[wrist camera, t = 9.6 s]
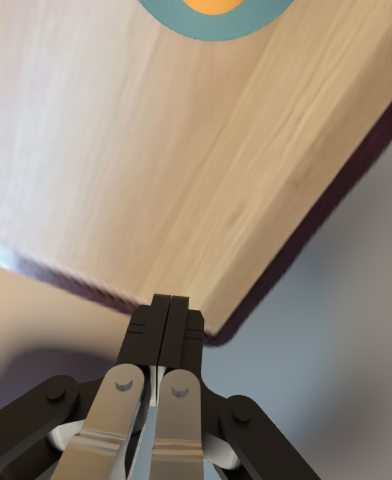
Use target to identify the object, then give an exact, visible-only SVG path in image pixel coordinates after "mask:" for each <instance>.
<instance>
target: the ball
mask: <svg viewBox="0 0 392 480" xmlns="http://www.w3.org/2000/svg"><path fill="white" fill-rule="evenodd" d="M183 1H184V2H185V3H186V4H187V5H188V6H189V7H191V8H192V9H194V10H196V11H198V12H200V13H203V14H208V15H218V14H223V13H226V12H228V11H230V10H232V9H234V8H235V7H237V6H238V5H239V4H240V3H241V2H242V1H243V0H183Z"/></svg>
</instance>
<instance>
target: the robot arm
mask: <svg viewBox="0 0 392 480" xmlns="http://www.w3.org/2000/svg"><path fill="white" fill-rule="evenodd" d="M188 307H189V297H183V296H174V295H173V296H172V299H171V295H163V294H154V296H153V299H152V303H151V306H149V305H140V306H139V307H138V308H137V309H136V310H135V311H134V312H133V313H132V316H131V319H130V322H129V326H128V328H127V332H126V335H125V338H124V340H123V343H122V346H121V349H120V352H119V355H118V358H117V361H116V364H115V366H114V367H113V368H112V369H110V370H109V371H108V372H107V374H106V375H105V376H104V377H102V378H100V379H97V380H94V381H89V382H84V383H79V384H77V382H76V380H75V379H74V378H72V377H70V376H67V375H57V376H53V377H51V378H49V379H47V380H45V381H44V382H42V383H41V384H39V385H37V386H36V387H34V388H33V389H32V390H30V391H28V392H27V393H25V394H24V395H22V396H20V397H19V398H18V399H16V400H14V401H13V402H11V403H10V404H8V405H7V406H5V407H4V408H2V409H0V480H47V479H48V478H49V477H50V476H51V475H52V478H51V480H130V478H131V475H132V472H133V468H134V464H135V461H136V457H137V454H138V450H139V446H140V443H141V439H142V436H143V432H144V429H145V422H146V419H147V414H148V409H149V406H153V407H155V406H156V401H157V397H158V409H157V419H156V428H155V438H154V446H153V450H152V457H151V467H150V477H149V480H204V469H203V468H204V467H203V458H204V459H206V460H208V461H210V462H212V463H213V465H214V468H215V470H216V471H217V473H218V474H219V476H220V478H221V479H222V480H321V479H320V478H319V477H318V476H317V474H316V473H315V472H314V471H313V469H312V468H311V467H310V466H309V465H308V464H307V462H306V461H305V460H304V459H303V458H302V457H301V455H300V454H299V453H298V452H297V451H296V449H295V448H294V447H293V446H292V445H291V443H290V442H289V441H288V440H287V439H286V438H285V436H284V435H283V434H282V433H281V432H280V430H279V429H278V428H277V427H276V426H275V424H274V423H273V422H272V421H271V420H270V419H269V418H268V416H267V415H266V414H265V413H264V411H263V410H262V409H261V408H260V407H259V406H258V404H257V403H256V402H255V401H253V400H252V399H251V398H249V397H246V396H243V395H234V396H231V397H229V398H227V399H226V398H224V397H222V396H220V395H217V394H215V393H213V392H212V391H210V390H209V389H208V388H207V387H206V385H205V384H204V382H203V380H202V378H201V363H202V349H203V334H204V318H203V316H202V314H201V311H199V310H189V309H188Z"/></svg>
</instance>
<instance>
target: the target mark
mask: <svg viewBox="0 0 392 480" xmlns="http://www.w3.org/2000/svg"><path fill="white" fill-rule="evenodd" d="M293 1H294V0H243V1H242V2H241V3H240V4H239V5H238V6H237V7H235V8H234V9H232V10H230V11H228V12H226V13H223V14H218V15H208V14H203V13H200V12H198V11H196V10H194V9H192V8H191V7H189V6H188V5H187V4H186V3H185V2H184V1H183V0H139V2H140V3H141V4H142V5H143V6H144V7H145V8H146V10H147V11H148V12H149V13H150V14H151V15H153V16H154V17H155V18H156V19H157V20H158V21H159V22H161V23H162V24H164V25H165V26H167V27H168V28H170V29H171V30H173V31H176V32H178V33H180V34H182V35H184V36H187V37H191V38H194V39H199V40H205V41H224V40H231V39H235V38H239V37H242V36H245V35H248V34H250V33H252V32H254V31H256V30H258V29H260V28H262V27H263V26H265V25H266V24H268V23H270V22H271V21H272V20H274V19H275V18H276V17H277V16H278V15H280V14H281V13H282V12H283V11H284V10H285V9H286V8H287V7H288V6H289V5H290V4H291V3H292V2H293Z"/></svg>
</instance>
